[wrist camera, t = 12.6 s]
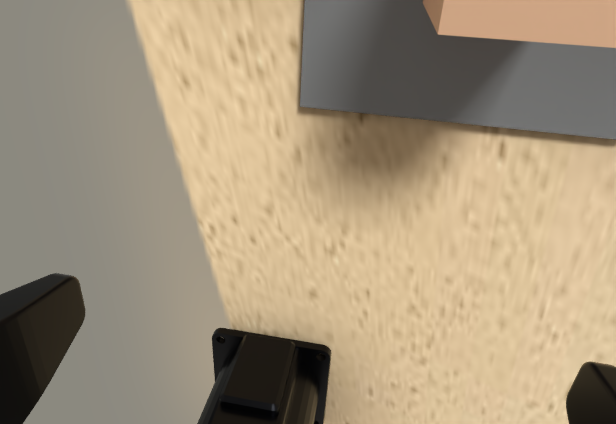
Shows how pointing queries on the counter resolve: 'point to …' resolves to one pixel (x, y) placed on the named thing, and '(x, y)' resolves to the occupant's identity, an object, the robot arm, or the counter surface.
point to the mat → (450, 72)
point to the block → (528, 20)
